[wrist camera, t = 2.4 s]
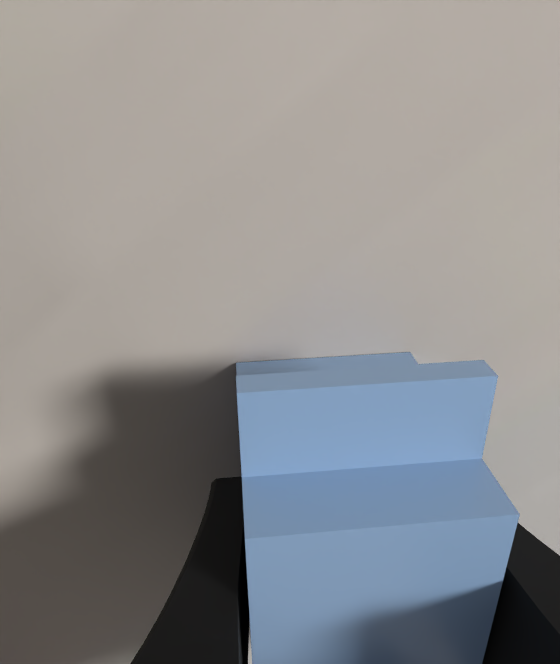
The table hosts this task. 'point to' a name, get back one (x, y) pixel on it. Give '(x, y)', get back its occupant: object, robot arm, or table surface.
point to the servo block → (370, 510)
